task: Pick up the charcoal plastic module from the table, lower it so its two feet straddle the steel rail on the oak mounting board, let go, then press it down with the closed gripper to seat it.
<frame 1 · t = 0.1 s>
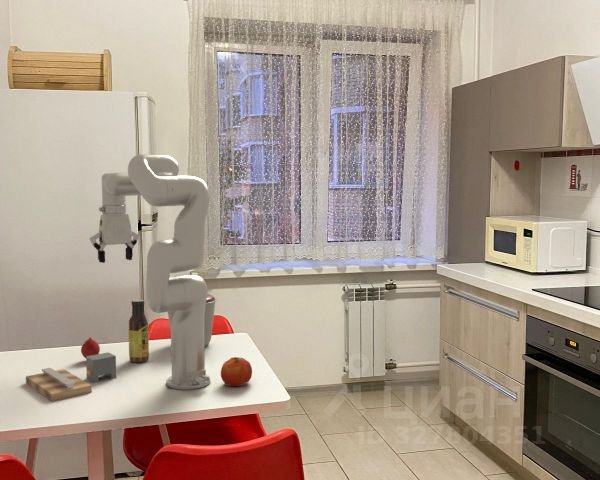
hand: (115, 260, 219), 31 cm above the table, fingers open, 9 cm apart
module: (101, 378, 194), on the table
mounting board: (58, 387, 185), on the table
rail: (57, 380, 185), resting on mounting board
tomato: (236, 385, 188), on the table
sauce bottle: (139, 361, 211), on the table
red oval fruit: (90, 361, 211), on the table
canister: (191, 345, 230), on the table
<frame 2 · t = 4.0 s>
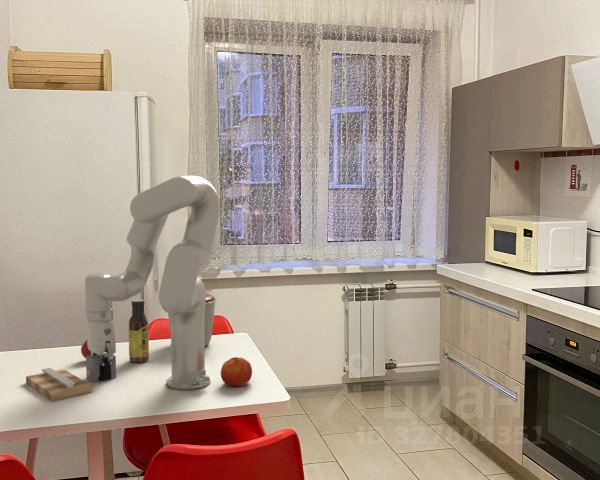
hand: (101, 374, 193), 1 cm above the table, fingers closed on module, 5 cm apart
module: (101, 378, 194), on the table, touching gripper
everything else where it was.
when the fingers open (4 cm above the table, at t = 8.9 s): module stays where it is, resting on mounting board.
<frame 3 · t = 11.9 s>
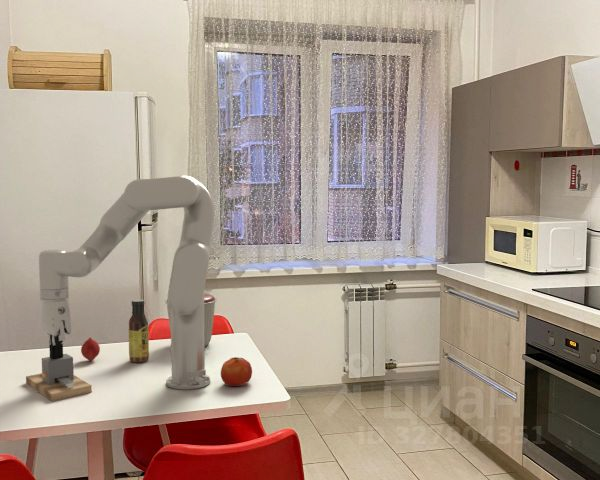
hand: (56, 357, 184), 9 cm above the table, fingers closed
module: (58, 380, 185), point 2 cm above the table, touching gripper, mounting board
everything else where it was.
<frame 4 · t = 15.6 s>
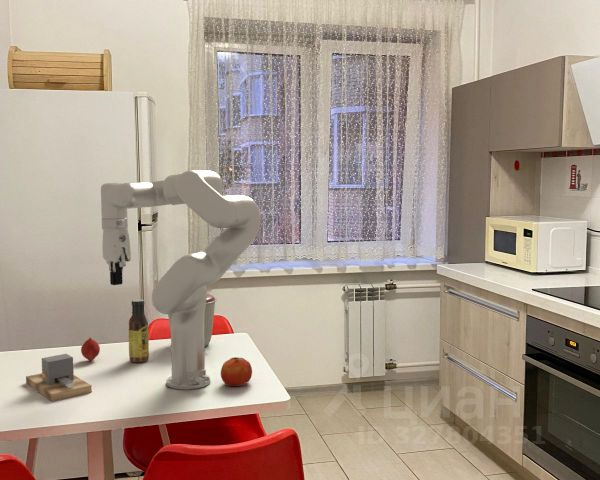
hand: (116, 284, 198), 27 cm above the table, fingers closed
module: (58, 380, 185), point 2 cm above the table, touching mounting board
everything else where it was.
at the end: module inside the target area on the rail (0.1 cm from its centre), point 0.0 cm above the rail's base; module tilted 0°; the gripper is holding nothing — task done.
